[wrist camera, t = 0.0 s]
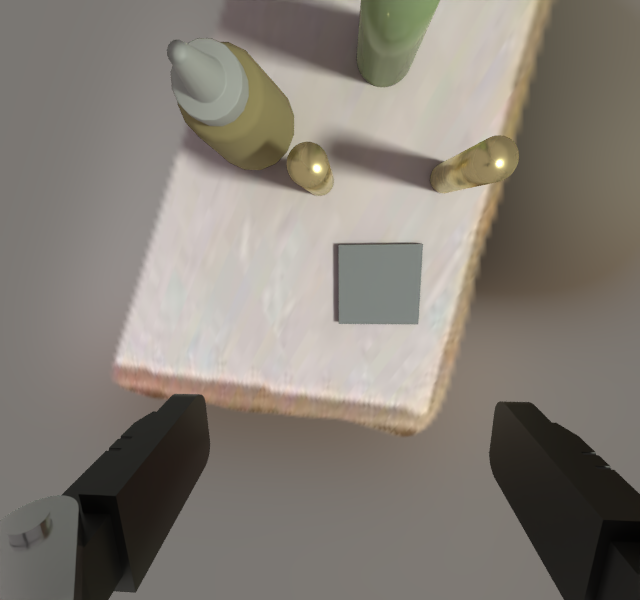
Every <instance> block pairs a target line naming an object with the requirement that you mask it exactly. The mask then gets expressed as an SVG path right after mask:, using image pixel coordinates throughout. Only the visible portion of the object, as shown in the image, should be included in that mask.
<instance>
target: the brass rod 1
mask: <svg viewBox="0 0 640 600" xmlns="http://www.w3.org/2000/svg"><path fill="white" fill-rule="evenodd" d="M287 171H288V174H289V176H290V177H291V179H292V180H293V181H294V182H295V183H297V184H298V185H300V186H301V187H303V188H304V189H306V190H307V191H309V192H310V193H312V194H314V195H316V196H322V195H325V194H327V193H328V192H329V191H330V190H331V189H332V187H333V183H334V178H333V175H332V171H331V168H330V165H329V161H328V158H327V155H326V153H325V151H324V150H323V149H322V148H321V147H320V146H319V145H317V144H315V143H312V142H303V143H300V144H298V145H296V146H295V147H294V148H293V149H292V150H291V151H290V153H289V155H288V158H287Z"/></svg>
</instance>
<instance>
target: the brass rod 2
mask: <svg viewBox="0 0 640 600" xmlns="http://www.w3.org/2000/svg"><path fill="white" fill-rule="evenodd" d="M518 159H519V152H518V148H517V146H516V144H515V143H514V142H513V141H512V140H511V139H510V138H508V137H505V136H493V137H490V138H488V139H486V140H484V141H482V142H480V143H478V144H477V145H475V146H473V147H471V148H469V149H467V150H465V151H463V152H462V153H460V154H458V155H456V156H454V157H452V158H450V159H448V160H446V161H445V162H443V163H441V164H439V165H437V166H436V167H435V168H434V169H433V171H432V173H431V176H430V182H431V185H432V187H433V189H434V190H436V191H437V192H439V193H448V192H453V191H458V190H462V189H467V188H472V187H476V186H481V185H486V184H490V183H495V182H499V181H502V180H504V179H506V178H507V177H509V176H510V175H511V174H512V173H513V171H514V170H515V168H516V166H517V164H518Z"/></svg>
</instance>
